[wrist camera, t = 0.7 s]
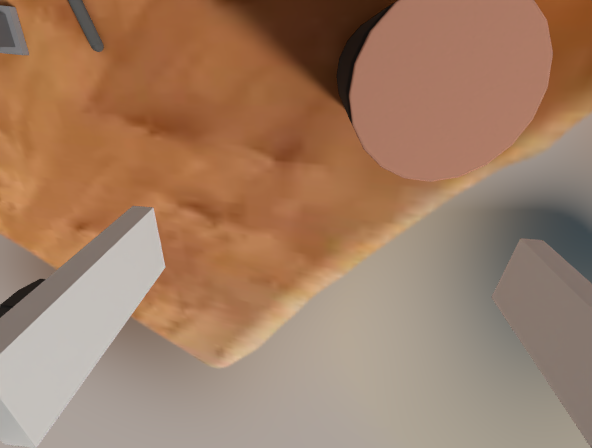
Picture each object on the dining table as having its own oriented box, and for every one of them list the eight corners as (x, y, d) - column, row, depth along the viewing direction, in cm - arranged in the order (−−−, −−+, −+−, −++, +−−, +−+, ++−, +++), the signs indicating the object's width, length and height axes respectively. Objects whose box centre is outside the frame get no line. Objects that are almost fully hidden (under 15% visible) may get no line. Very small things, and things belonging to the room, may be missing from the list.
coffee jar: (323, 109, 35) (324, 155, 19) (357, -3, 30) (395, -63, 14) (411, 136, 36) (482, 201, 20) (459, 31, 31) (604, 9, 15)
